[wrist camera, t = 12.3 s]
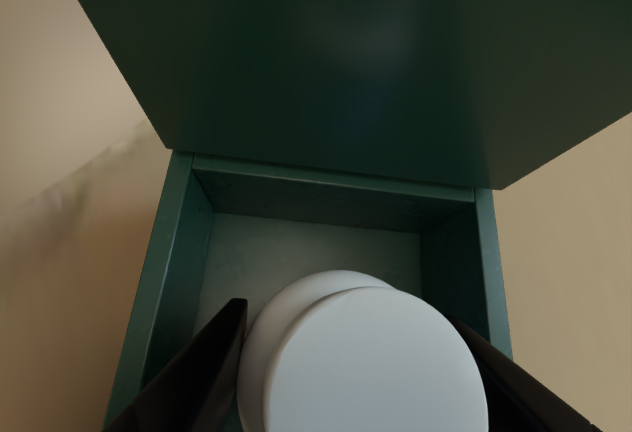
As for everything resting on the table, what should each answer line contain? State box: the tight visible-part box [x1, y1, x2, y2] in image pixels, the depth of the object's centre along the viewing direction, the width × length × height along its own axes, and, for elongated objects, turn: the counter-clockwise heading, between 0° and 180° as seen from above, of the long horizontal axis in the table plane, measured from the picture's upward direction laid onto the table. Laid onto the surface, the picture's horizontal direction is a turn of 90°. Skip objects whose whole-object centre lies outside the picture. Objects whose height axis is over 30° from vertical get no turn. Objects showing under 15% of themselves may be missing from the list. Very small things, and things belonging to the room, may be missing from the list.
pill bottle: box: [236, 270, 488, 432], centre depth 10 cm, size 5×5×10 cm
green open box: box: [101, 150, 513, 432], centre depth 12 cm, size 14×13×6 cm
